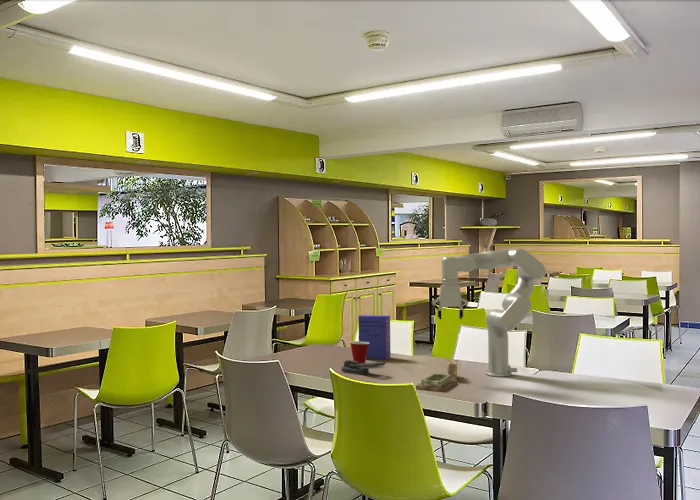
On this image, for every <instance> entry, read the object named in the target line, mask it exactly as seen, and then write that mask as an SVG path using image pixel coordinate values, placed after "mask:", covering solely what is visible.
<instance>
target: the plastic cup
mask: <svg viewBox="0 0 700 500" xmlns="http://www.w3.org/2000/svg"><path fill="white" fill-rule="evenodd" d="M349 344H350V348H351V349H350V350H351V354H352V361H357V362H359V363H366V360H367V359H366V355H367V349H368V345H369V344H370V343H369V342H361V341H359V340H358V341H355V340H351V341H349Z"/></svg>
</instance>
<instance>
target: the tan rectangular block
mask: <svg viewBox="0 0 700 500" xmlns="http://www.w3.org/2000/svg"><path fill="white" fill-rule="evenodd" d="M457 365H458V364H457V362H456V361H455V360H454V359H445V374H447V375H452V380H457V381H458V366H457Z"/></svg>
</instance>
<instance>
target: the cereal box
mask: <svg viewBox="0 0 700 500" xmlns="http://www.w3.org/2000/svg"><path fill="white" fill-rule="evenodd" d="M358 341H361V342H369V343H370V344H369V345H368V349H367V355H366V358H373V359H372V360H390V359H391V355H392V354H391V353H392V352H391V315H373V314H371V315H370V314H369V315H365V314H364V315H363V314H362V315H358Z"/></svg>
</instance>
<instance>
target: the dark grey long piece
mask: <svg viewBox="0 0 700 500" xmlns="http://www.w3.org/2000/svg"><path fill="white" fill-rule="evenodd" d="M385 365H386V362H382V361H381V362H365V363H359V362H357V361H354V360H353V359H352V360H351V359H347V360H345V361H344V362H343V366H341V372H342V373H346V374H352V375H357V376H358V375H359V376H360V375H362V376H363V375H368V374H369V373H370V372H369V369H370V367H373V368H374V367H380V366H381V367H382V366H385Z"/></svg>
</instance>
